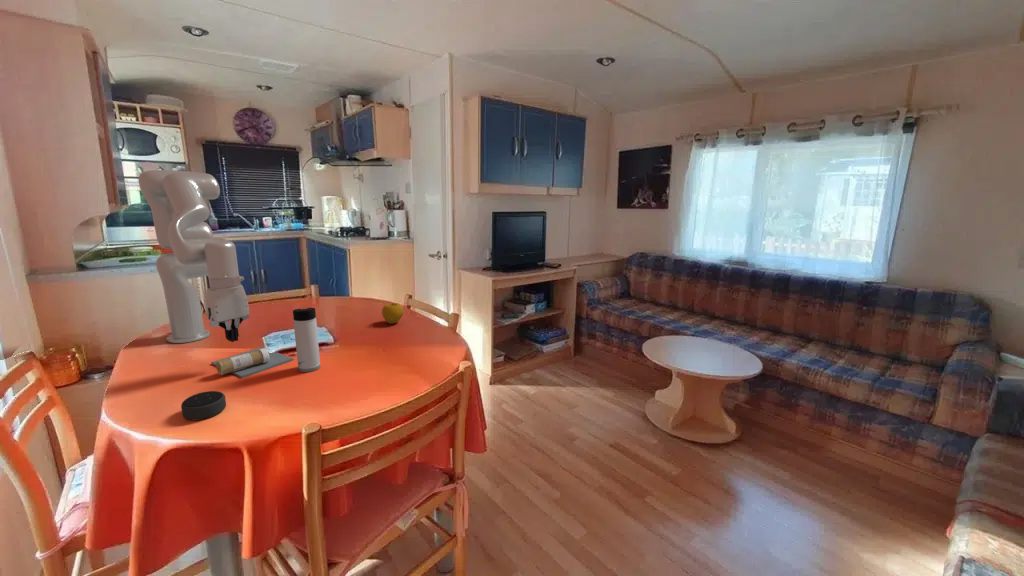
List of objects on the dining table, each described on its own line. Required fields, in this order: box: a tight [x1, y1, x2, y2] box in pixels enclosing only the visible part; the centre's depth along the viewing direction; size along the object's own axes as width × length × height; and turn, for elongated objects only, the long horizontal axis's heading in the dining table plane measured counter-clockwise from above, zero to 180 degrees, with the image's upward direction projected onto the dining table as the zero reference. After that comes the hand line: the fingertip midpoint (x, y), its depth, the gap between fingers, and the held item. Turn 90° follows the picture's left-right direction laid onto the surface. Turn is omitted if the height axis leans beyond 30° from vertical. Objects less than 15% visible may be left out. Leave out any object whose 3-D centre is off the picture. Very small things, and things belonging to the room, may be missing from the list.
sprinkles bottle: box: [215, 347, 269, 376], centre depth 127 cm, size 5×5×14 cm
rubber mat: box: [211, 346, 294, 379], centre depth 133 cm, size 18×16×1 cm
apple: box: [381, 302, 404, 325], centre depth 174 cm, size 9×9×9 cm
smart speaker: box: [180, 390, 227, 421], centre depth 103 cm, size 9×9×4 cm
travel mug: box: [292, 307, 321, 373], centre depth 128 cm, size 6×7×20 cm
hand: (232, 340), depth 127 cm, fingers closed
